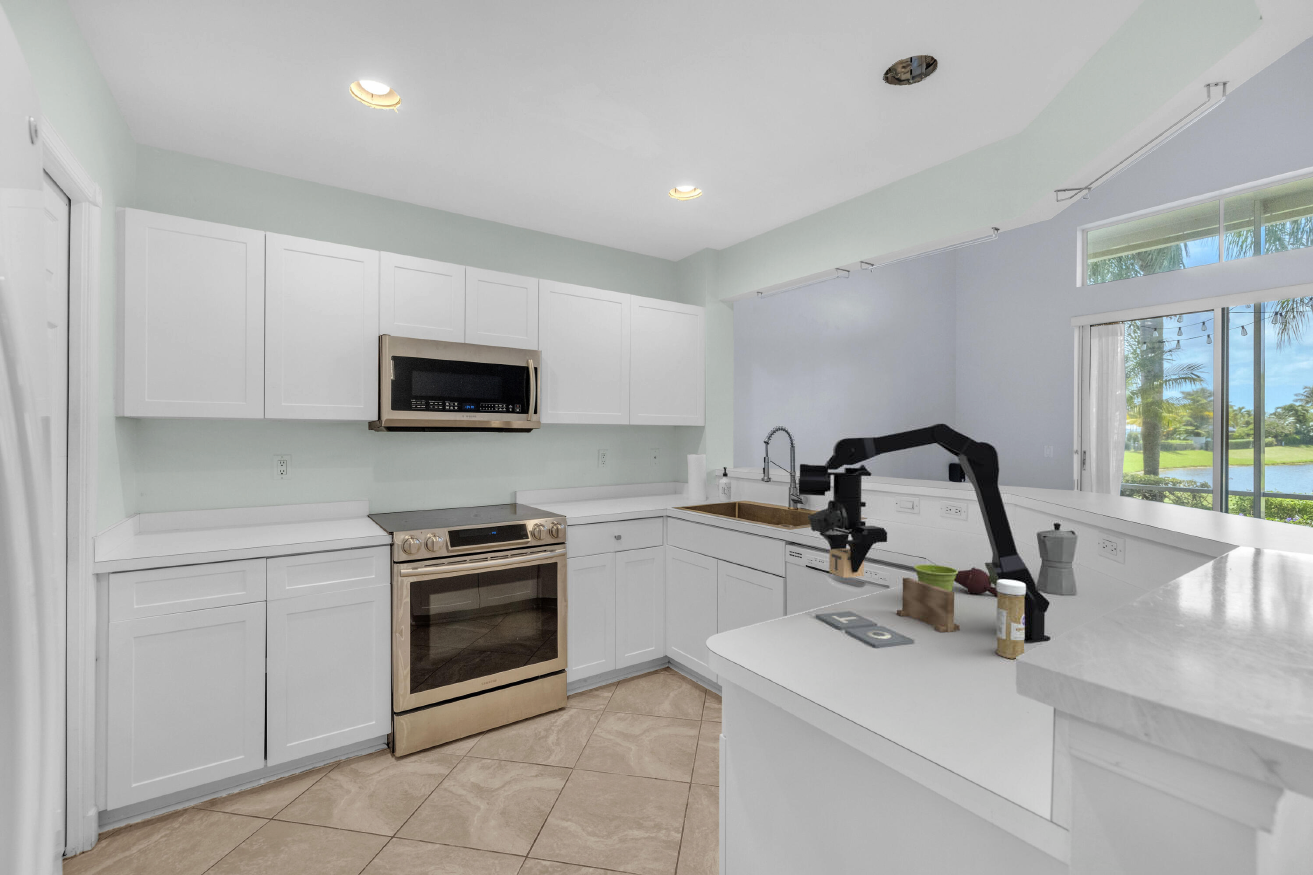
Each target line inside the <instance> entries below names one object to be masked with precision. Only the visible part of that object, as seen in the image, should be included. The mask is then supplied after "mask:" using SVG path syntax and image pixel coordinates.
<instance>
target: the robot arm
mask: <svg viewBox="0 0 1313 875" xmlns="http://www.w3.org/2000/svg"><path fill="white" fill-rule="evenodd" d="M933 444H936V445H938V446H940V447H941V448H943V449H944V450H945V451H947V452H948V453H949V454H952V455H953V456H954V457H956V458H957V460H958V462H959V465H960V466H961V468H962V470H963V472H964V474H965V476H966V477H967V478H968V480H969V481H970V484H972V486H973V488H974V492H975V495H976V498H977V499H976V500H977V502H978V506H979V509H980V512H981V516H982V520H983V523H984V527H985V531H986V534H987V537H988V542H989V546H990V548H991V552H992V558H991V562H985V563H984V565H985V568H986V569H987V572H988V576H989V581H990V582H991V585H992V584H993V585H994V587H995V588H996V584H997V580H1001V579H1006V580H1015V581H1020V582H1023V583H1024V584H1025V585H1026V594H1024V595H1025V597H1024V614H1025V639H1024V643H1034V642H1042V641H1049V640H1051V636H1048V635H1046V634H1045V628H1046V627H1045V623H1046V622H1045V621H1046V620H1045V618H1046V615H1045V614H1046V612H1047V611H1048V609H1049V606H1050V601H1049V600H1048V599H1047V598H1046V597H1045V596H1044V595H1043V594H1042V593H1041V592H1040V591H1039V590H1037V589H1036V587H1037V584H1036V582H1035V580H1034V578H1033V576H1032V574H1031V571H1030V570H1029V568H1028V567H1027V565H1026V564H1025V562H1024V560H1023V559H1022V557H1021V555H1020V554H1019V552H1018V550H1017V547H1016V544H1015V540H1014V539H1015V538H1014V536H1013V533H1012V529H1011V526H1010V522H1009V518H1008V515H1007V511H1006V508H1005V504H1004V502H1003V498H1002V495H1001V490H1000V488H999V476H1000V475H999V474H1000V463H999V453H998V450H997V448H996V447H995V446H994V445H992V444H990V443H988V442H985V441H976V440H975V439H972V438H971V437H970V436H967V435H965V434H963V433H961V432H959V431H957V430H955V429H953V428H952V427H950V426H949V425H947V424H945V423H935V424H932V425H929V426H925V427H920V428H916V429H912V430H905V431H901V432H896V433H891V434H886V435H881V436H877V437H846V438H842V439H839V440H838V441H837V442H836V443H835V444H834V446H833V450H832V451H833V454H832V455H831V457H830V458H829V459H828V460H826V461H825V464H823V465H822V464H808V463H807V464H805V463H800V464H799V477H798V495H799V496H818V497H819V496H822V497H825V496H826V493H828V492H831V489H832V487H831V485H832V481H831V479H832V477H831V476H833V500H832V499H830V500H829V501H828V503H827V508H825V509H821V510H818V511H817V512H814V513H813V514H810V515H808V517H807V518H808V521H809V525H810V530H811V531H813V532H818V533H819V535H820V536H821V537H822V538H824V539H825V540H826V541H827V543H828V546H829V548H830V549H844V548H847V546H848V548H850V555H851V568H852V572H858V570H859V568H860V566H861V564H862V562H863V560H864V561H865V558H866V556H867V555H868V553H869V552H870V550H871V548H872V547H873V546H874V545H875V544H877V543H887V542H888V531H887V530H886V529H885V528H884V527H881V526H876V525H866V521H865V520H862V508H866V505H867V503H866V501H862V480H863V478H862V477H871V476H872V473H871V471H869V470H868V469H867V468H866V465H864V464H860V463H862V462H864V461H867V460H870V459H872V458H874V457H877V456H879V455H883V454H887V453H892V452H898V451H902V450H908V449H912V448H918V447H924V446H927V445H928V446H929V445H933ZM857 464H860V465H859V466H858V467H844V466H854V465H857ZM842 467H844V470H843V472H842V471H840V472H839V471H837V470H838V469H840V468H842ZM829 470H830V471H829ZM831 470H832V471H831ZM835 471H836V472H835ZM849 537H851V539H849Z"/></svg>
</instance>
